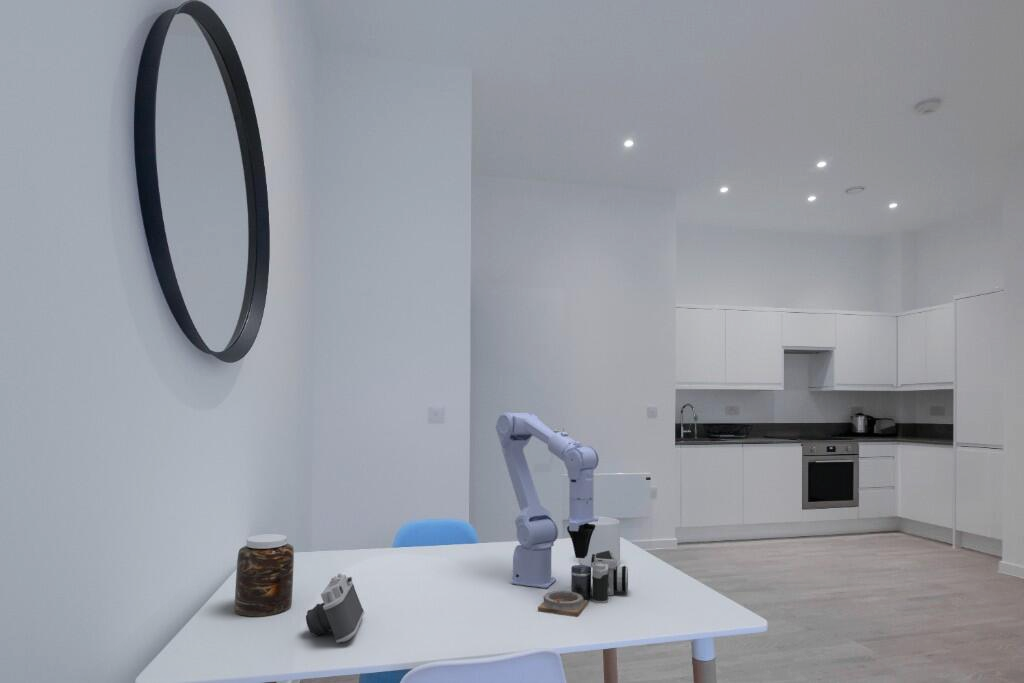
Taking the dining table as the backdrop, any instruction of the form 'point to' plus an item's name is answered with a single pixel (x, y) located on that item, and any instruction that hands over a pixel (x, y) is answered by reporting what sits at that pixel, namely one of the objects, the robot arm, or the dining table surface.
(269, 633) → the dining table surface
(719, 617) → the dining table surface
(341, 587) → the camera
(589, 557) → the cup
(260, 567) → the jar
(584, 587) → the lens
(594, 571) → the camera
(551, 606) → the mount
